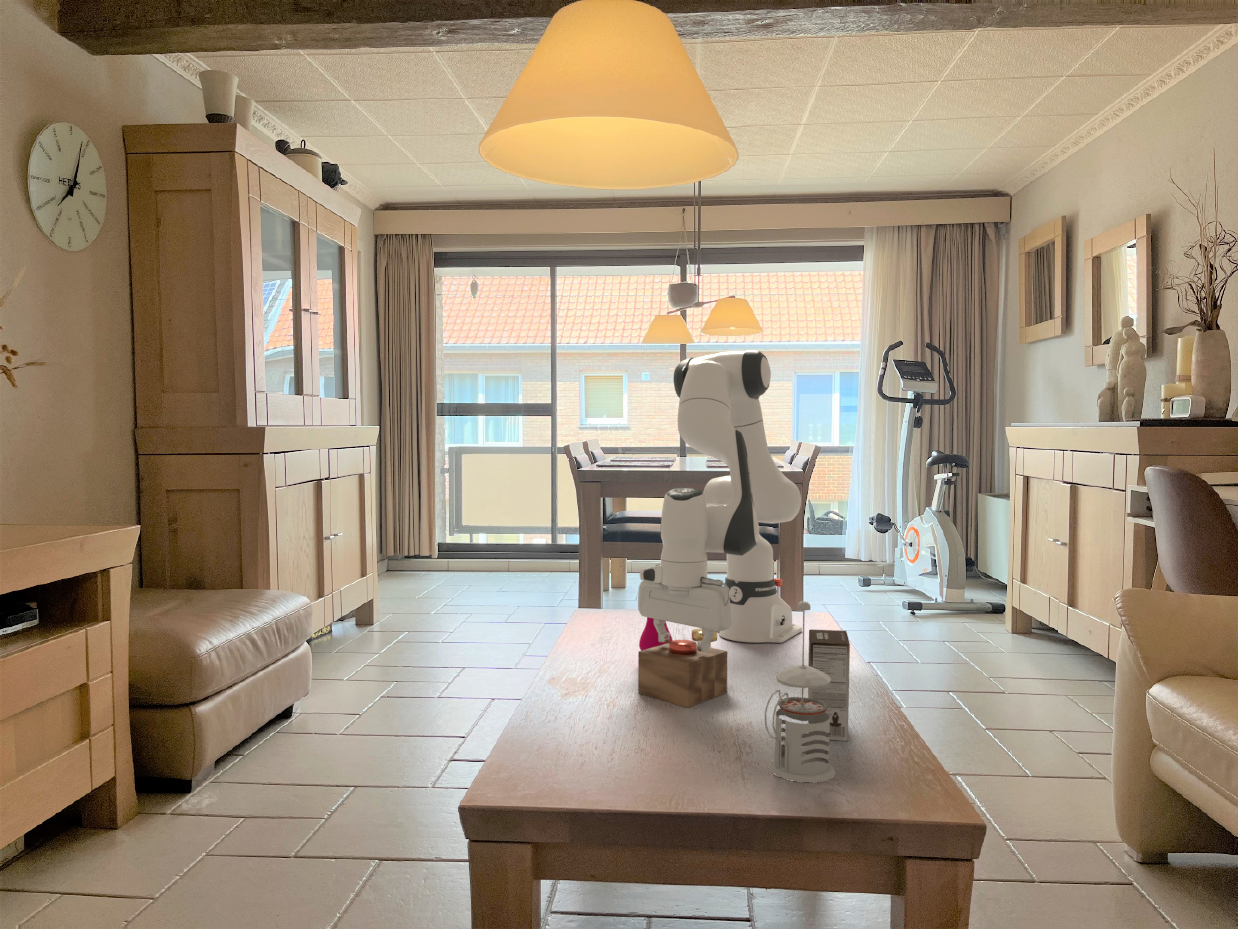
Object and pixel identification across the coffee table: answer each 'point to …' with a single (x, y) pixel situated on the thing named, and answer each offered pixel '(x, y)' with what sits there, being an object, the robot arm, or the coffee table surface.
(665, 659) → the hitch block
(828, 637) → the coffee box
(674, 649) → the red round-headed grey cylinder
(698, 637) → the brass pin
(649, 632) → the pepper mill
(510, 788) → the coffee table surface
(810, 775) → the french press
